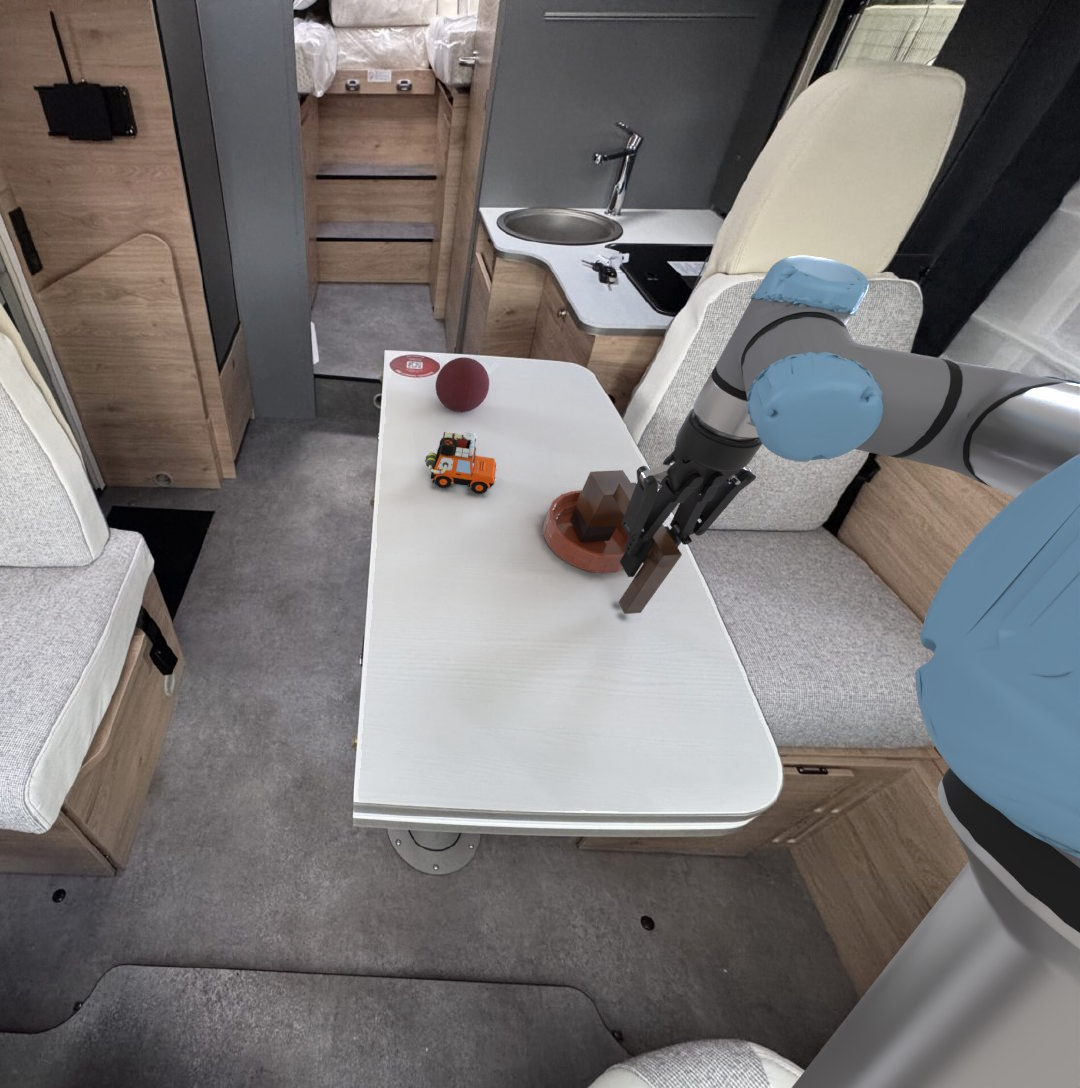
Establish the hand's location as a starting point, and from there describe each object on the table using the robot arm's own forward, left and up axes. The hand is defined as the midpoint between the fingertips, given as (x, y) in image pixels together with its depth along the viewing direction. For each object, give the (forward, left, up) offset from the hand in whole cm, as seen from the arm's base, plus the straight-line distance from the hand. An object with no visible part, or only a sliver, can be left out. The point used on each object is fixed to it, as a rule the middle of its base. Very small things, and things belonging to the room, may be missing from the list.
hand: (637, 568), depth 76 cm
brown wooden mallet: (+6, 0, -5) cm, 8 cm away
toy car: (+27, +17, -7) cm, 32 cm away
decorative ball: (+48, +12, -7) cm, 50 cm away
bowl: (+11, 0, -6) cm, 13 cm away
